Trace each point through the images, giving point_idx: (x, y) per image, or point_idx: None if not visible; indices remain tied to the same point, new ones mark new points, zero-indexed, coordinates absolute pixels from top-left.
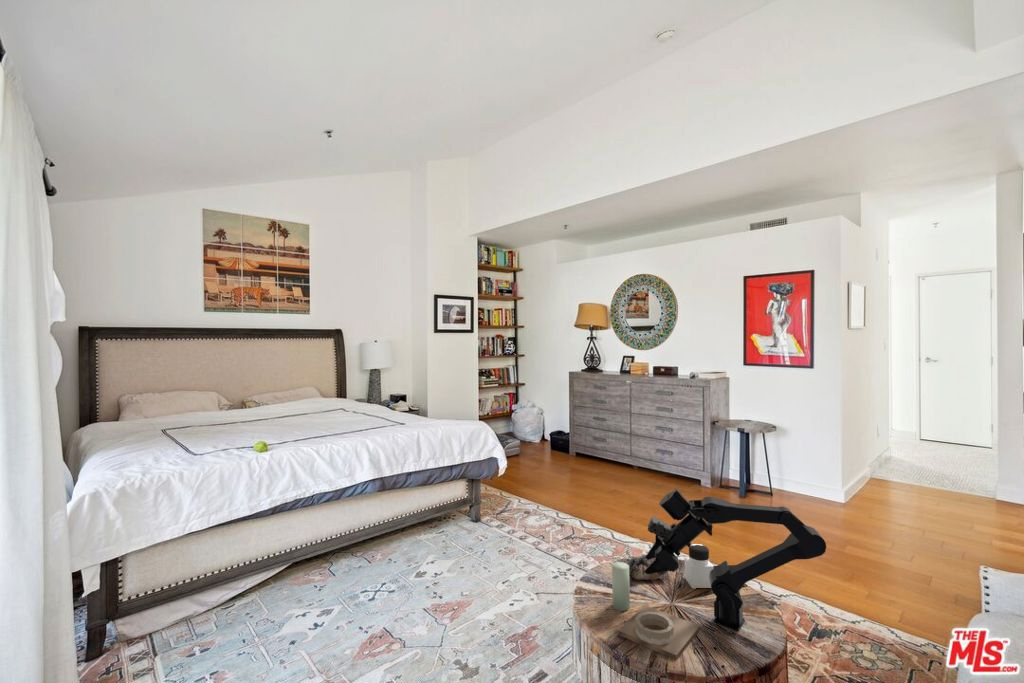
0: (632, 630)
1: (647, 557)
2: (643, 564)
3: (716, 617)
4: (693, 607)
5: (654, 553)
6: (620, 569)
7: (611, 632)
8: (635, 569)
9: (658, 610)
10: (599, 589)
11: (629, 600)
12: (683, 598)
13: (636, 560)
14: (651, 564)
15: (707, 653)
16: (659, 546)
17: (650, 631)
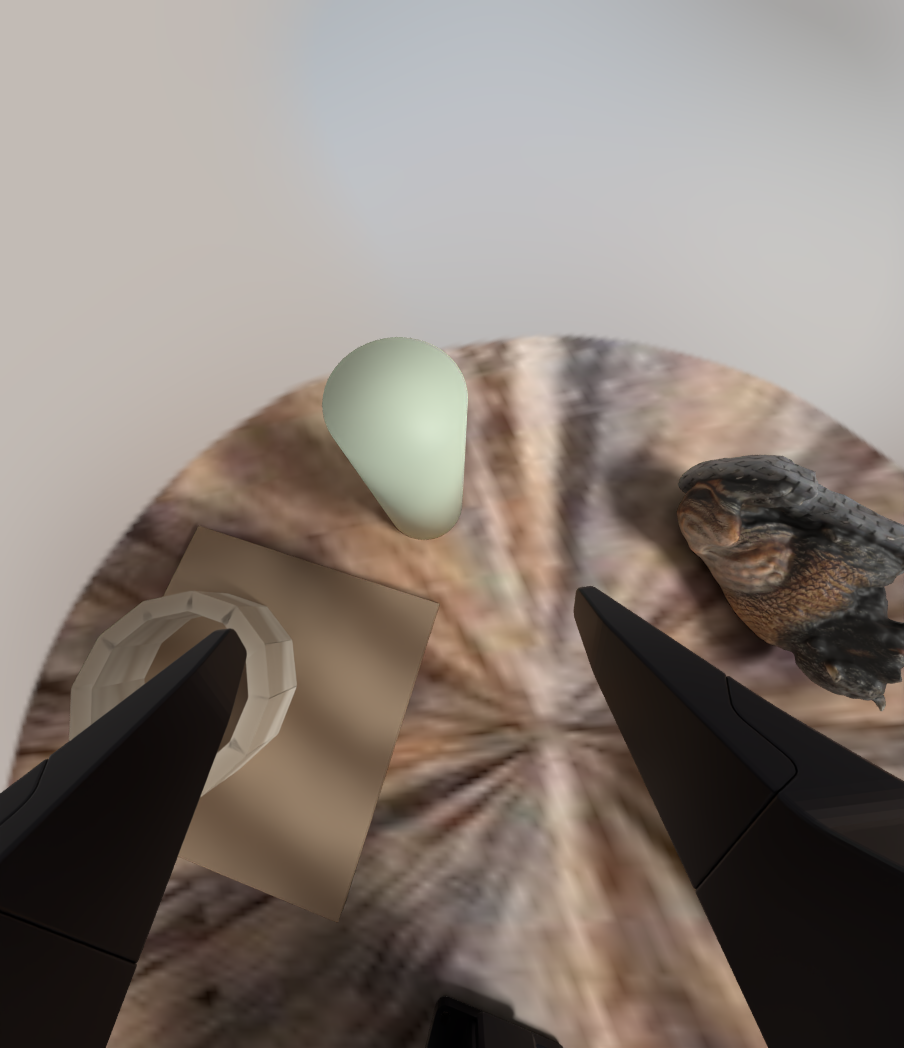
0: (211, 583)
1: (582, 611)
2: (798, 544)
3: (469, 1029)
4: (555, 856)
5: (637, 714)
6: (329, 409)
7: (223, 503)
8: (714, 509)
9: (412, 678)
10: (526, 396)
11: (417, 531)
12: (625, 790)
13: (791, 497)
14: (48, 763)
15: (155, 952)
16: (770, 878)
17: (76, 685)
